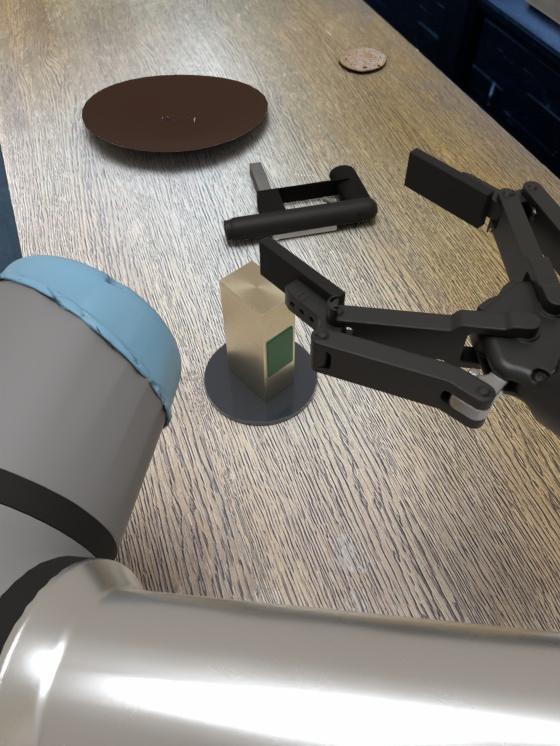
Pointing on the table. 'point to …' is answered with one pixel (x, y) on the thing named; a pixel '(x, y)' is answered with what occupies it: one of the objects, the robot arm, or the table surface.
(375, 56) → the flatbread
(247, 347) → the tea tin
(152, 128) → the plate
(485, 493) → the table surface
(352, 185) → the door handle
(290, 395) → the coaster
